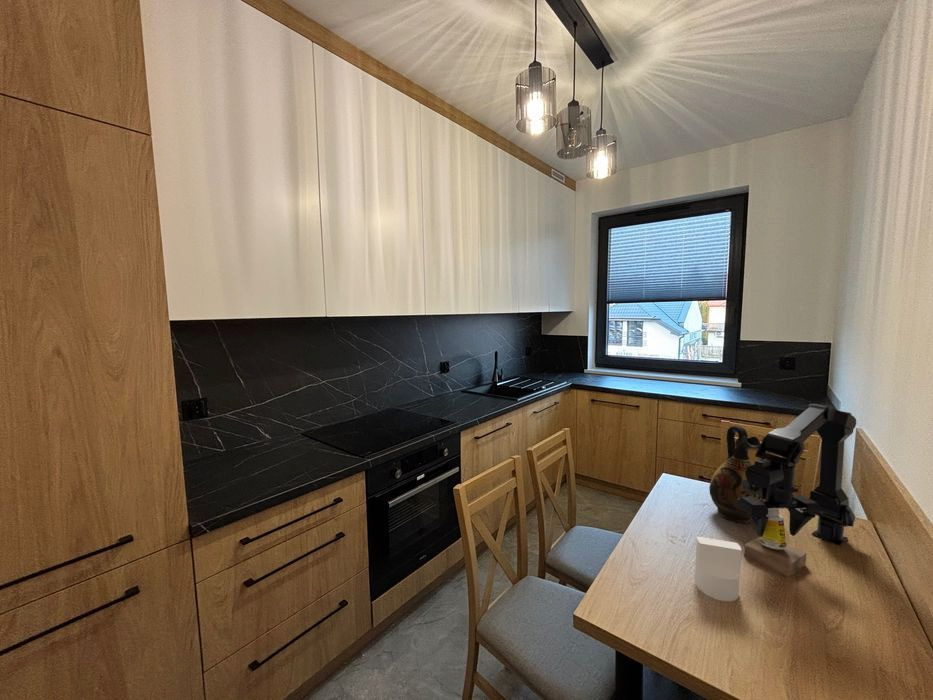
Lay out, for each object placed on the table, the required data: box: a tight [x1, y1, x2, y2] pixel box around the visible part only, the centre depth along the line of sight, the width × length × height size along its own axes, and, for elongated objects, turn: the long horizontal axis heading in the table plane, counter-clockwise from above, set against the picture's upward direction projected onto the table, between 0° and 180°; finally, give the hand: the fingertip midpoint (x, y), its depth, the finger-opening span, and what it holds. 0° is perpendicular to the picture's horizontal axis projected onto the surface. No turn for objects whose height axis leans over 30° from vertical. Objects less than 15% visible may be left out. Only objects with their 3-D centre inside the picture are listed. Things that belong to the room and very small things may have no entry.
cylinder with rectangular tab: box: [694, 536, 742, 602], centre depth 92 cm, size 9×9×12 cm
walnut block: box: [743, 536, 807, 578], centre depth 103 cm, size 10×10×4 cm
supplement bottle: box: [760, 509, 787, 550], centre depth 103 cm, size 6×6×10 cm
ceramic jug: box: [708, 424, 766, 524], centre depth 125 cm, size 17×15×30 cm
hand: (775, 535), depth 102 cm, fingers open, 9 cm apart
